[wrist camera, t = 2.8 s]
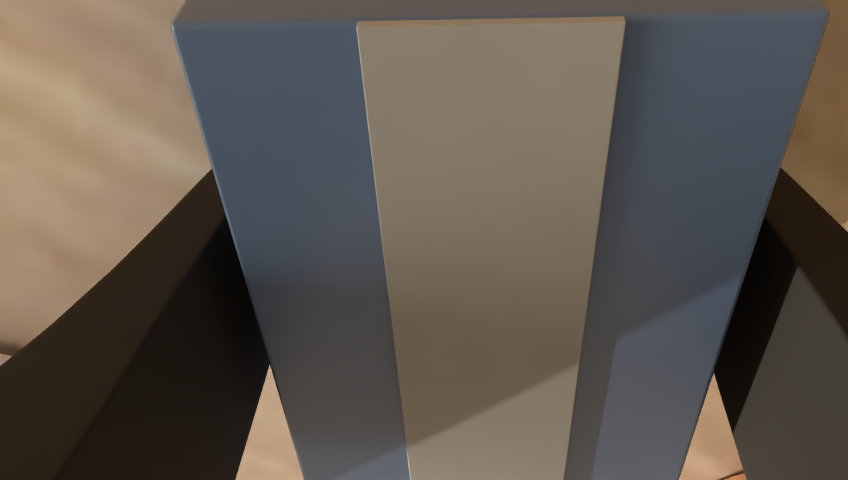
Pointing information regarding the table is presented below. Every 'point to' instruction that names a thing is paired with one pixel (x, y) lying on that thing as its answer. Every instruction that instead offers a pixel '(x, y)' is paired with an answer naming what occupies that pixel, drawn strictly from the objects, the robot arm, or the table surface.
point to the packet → (495, 217)
